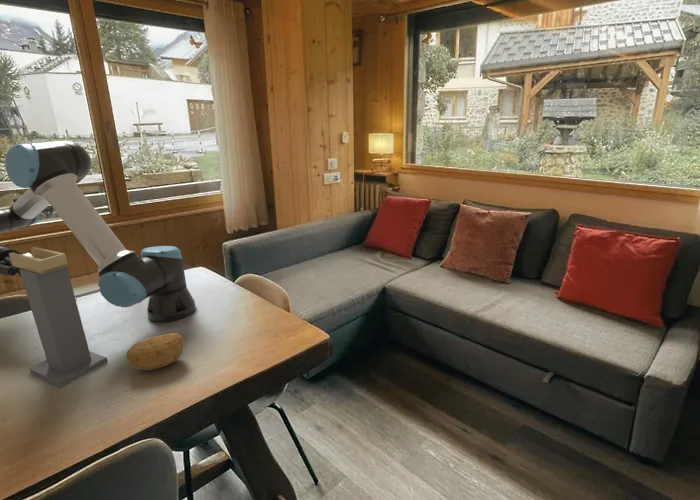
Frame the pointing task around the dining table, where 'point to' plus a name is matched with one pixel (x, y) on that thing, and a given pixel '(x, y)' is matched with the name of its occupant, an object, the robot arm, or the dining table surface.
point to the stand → (56, 317)
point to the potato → (156, 351)
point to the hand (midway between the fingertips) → (43, 270)
